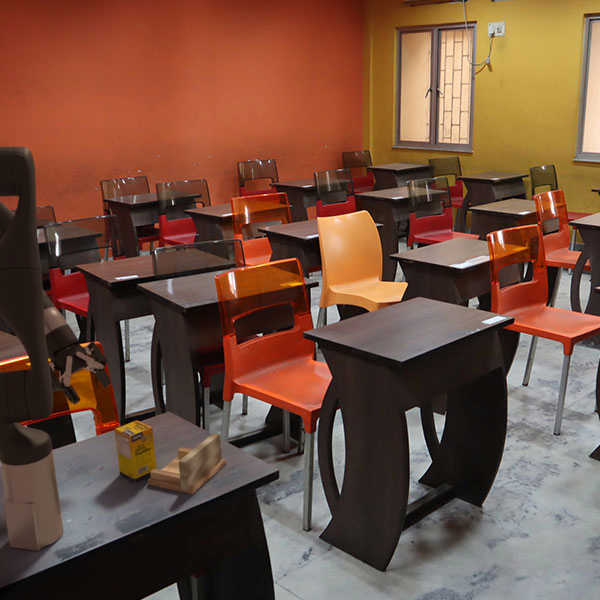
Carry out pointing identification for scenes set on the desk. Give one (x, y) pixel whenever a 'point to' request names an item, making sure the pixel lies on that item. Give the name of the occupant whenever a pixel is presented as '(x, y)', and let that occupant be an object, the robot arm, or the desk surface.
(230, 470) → the desk surface
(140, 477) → the supplement box
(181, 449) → the backstop pocket
